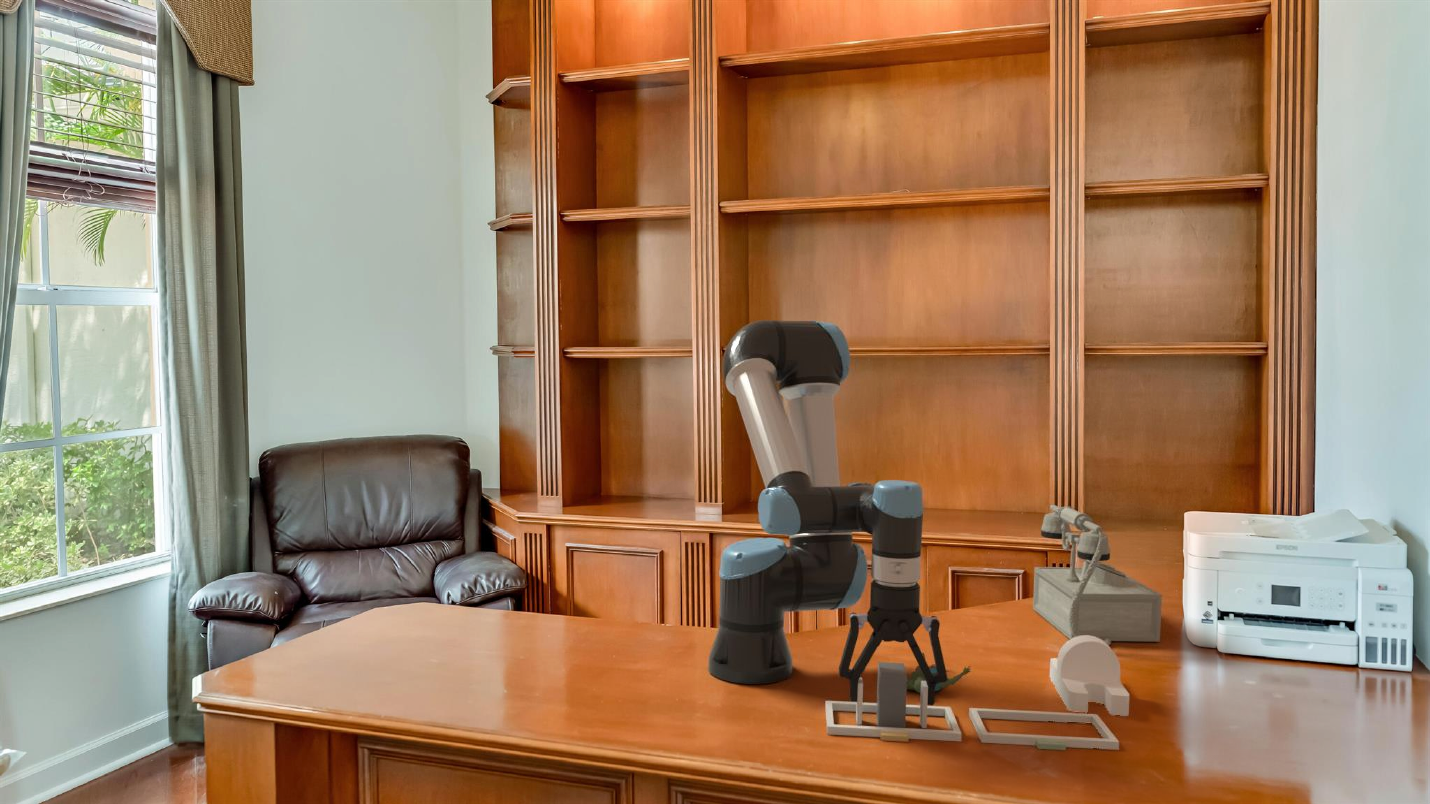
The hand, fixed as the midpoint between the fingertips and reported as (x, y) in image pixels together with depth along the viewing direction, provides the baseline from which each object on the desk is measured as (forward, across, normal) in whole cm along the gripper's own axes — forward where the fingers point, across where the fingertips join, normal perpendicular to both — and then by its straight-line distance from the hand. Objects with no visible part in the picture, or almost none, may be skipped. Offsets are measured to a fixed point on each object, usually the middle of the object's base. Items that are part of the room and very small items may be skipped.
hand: (890, 723), depth 156 cm
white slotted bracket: (+1, +35, +18) cm, 39 cm away
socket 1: (0, 0, 0) cm, 0 cm away
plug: (0, 0, 0) cm, 0 cm away
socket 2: (0, +23, 0) cm, 23 cm away
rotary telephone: (0, +47, +60) cm, 76 cm away
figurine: (+1, +8, +20) cm, 22 cm away
